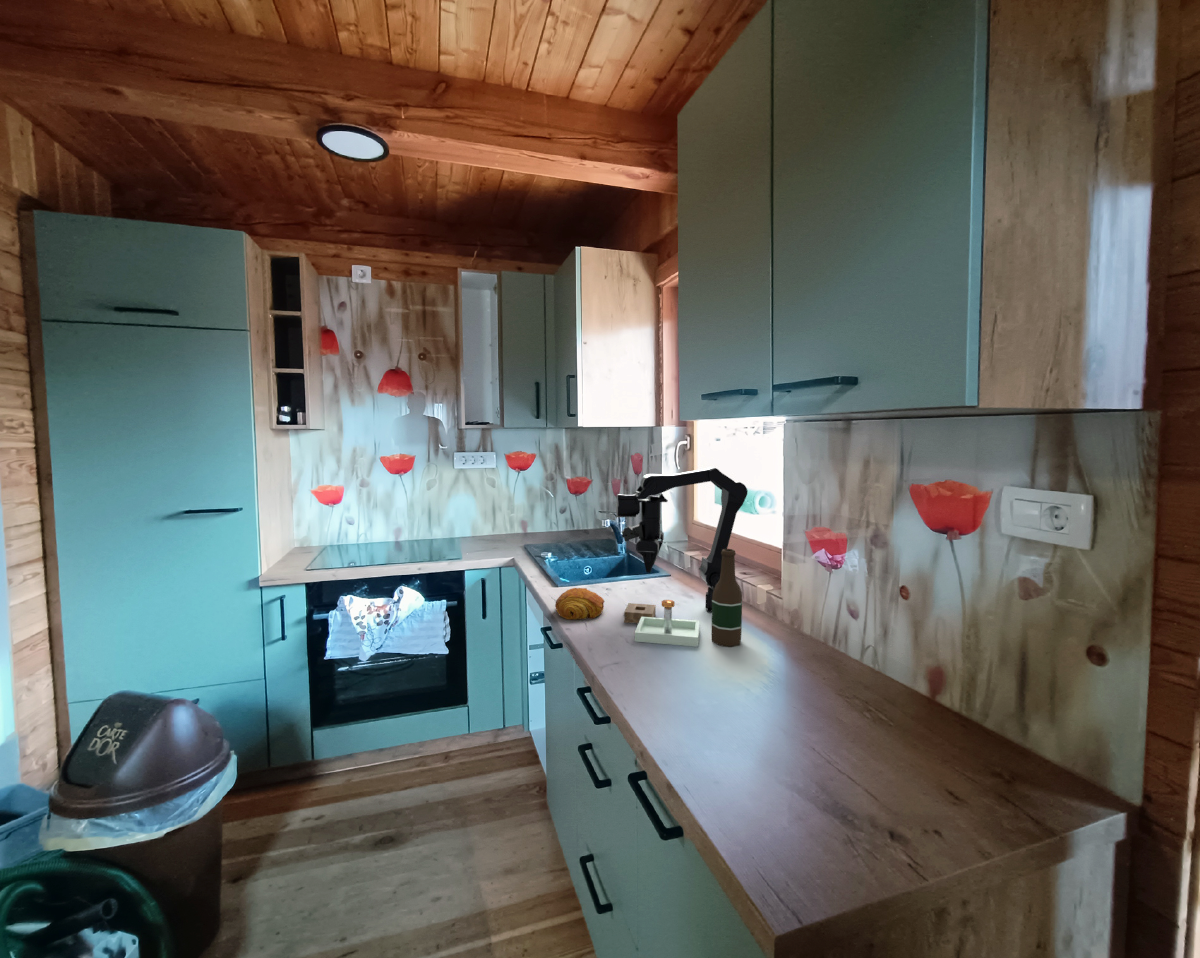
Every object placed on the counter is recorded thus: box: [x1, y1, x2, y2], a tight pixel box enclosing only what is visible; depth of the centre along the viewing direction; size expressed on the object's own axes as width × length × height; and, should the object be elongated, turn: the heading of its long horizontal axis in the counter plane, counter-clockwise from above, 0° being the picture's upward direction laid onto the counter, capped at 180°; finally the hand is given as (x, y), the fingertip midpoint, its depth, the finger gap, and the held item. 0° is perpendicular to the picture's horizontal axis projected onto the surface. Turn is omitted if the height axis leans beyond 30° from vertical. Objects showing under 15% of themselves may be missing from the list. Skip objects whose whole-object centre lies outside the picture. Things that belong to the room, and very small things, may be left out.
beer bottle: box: [710, 548, 743, 648], centre depth 137 cm, size 8×8×24 cm
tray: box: [634, 617, 701, 648], centre depth 142 cm, size 16×12×2 cm
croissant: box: [554, 587, 605, 621], centre depth 160 cm, size 14×16×8 cm
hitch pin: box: [661, 599, 676, 634], centre depth 142 cm, size 3×3×8 cm
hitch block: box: [623, 602, 657, 624], centre depth 155 cm, size 8×8×3 cm
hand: (650, 568), depth 160 cm, fingers open, 9 cm apart
